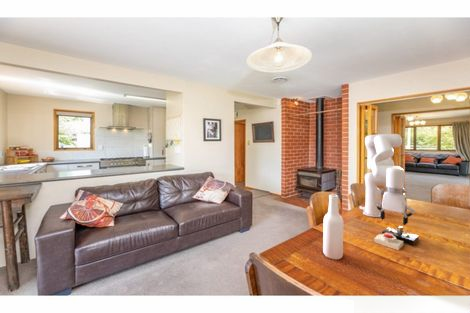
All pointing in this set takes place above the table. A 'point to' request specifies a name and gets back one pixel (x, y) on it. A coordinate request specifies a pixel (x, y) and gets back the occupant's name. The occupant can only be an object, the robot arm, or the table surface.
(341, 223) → the alcohol
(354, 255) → the table surface
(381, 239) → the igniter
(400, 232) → the hob knob
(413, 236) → the panel
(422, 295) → the table surface
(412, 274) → the table surface
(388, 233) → the button
